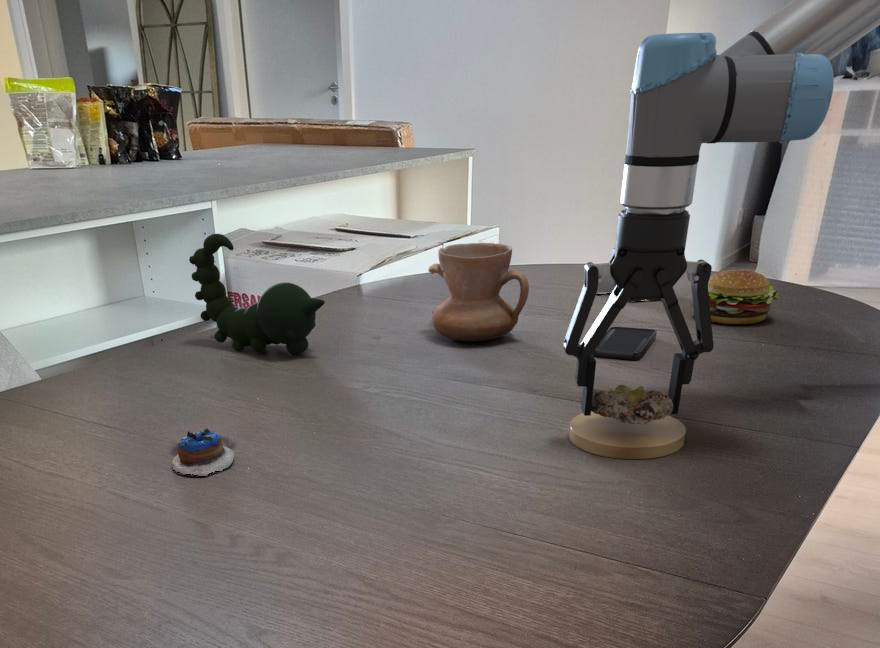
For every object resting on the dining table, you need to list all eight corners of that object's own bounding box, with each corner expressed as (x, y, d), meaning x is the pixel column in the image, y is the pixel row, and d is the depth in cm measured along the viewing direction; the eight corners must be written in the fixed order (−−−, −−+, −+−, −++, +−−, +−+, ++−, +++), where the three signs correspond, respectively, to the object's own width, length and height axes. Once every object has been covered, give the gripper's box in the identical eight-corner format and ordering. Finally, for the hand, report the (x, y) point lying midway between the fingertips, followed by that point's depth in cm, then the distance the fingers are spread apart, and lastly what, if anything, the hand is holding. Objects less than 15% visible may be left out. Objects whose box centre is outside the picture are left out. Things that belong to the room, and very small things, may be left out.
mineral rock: (684, 388, 104) (670, 389, 97) (677, 425, 105) (663, 428, 98) (599, 380, 108) (579, 380, 102) (593, 415, 110) (574, 417, 103)
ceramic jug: (410, 342, 145) (408, 252, 137) (448, 322, 156) (449, 238, 148) (507, 354, 138) (511, 260, 130) (540, 332, 148) (546, 244, 140)
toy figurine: (197, 359, 146) (315, 363, 134) (170, 239, 136) (295, 232, 125) (232, 345, 153) (347, 348, 141) (208, 230, 143) (330, 223, 131)
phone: (590, 348, 134) (612, 325, 146) (590, 356, 135) (611, 332, 146) (640, 353, 132) (658, 329, 143) (640, 360, 132) (657, 336, 143)
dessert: (193, 442, 106) (208, 408, 102) (234, 475, 107) (251, 444, 103) (154, 470, 101) (168, 435, 97) (197, 505, 101) (213, 473, 97)
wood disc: (668, 417, 111) (670, 406, 110) (697, 458, 100) (699, 446, 99) (561, 419, 112) (562, 408, 111) (578, 460, 100) (579, 448, 99)
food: (766, 331, 145) (776, 281, 140) (684, 322, 151) (691, 275, 147) (783, 313, 154) (793, 266, 150) (705, 306, 161) (712, 260, 156)
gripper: (748, 201, 94) (712, 399, 106) (546, 206, 95) (533, 402, 107) (771, 210, 88) (730, 420, 100) (555, 216, 88) (540, 423, 101)
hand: (628, 411), depth 104 cm, fingers closed on mineral rock, 10 cm apart
